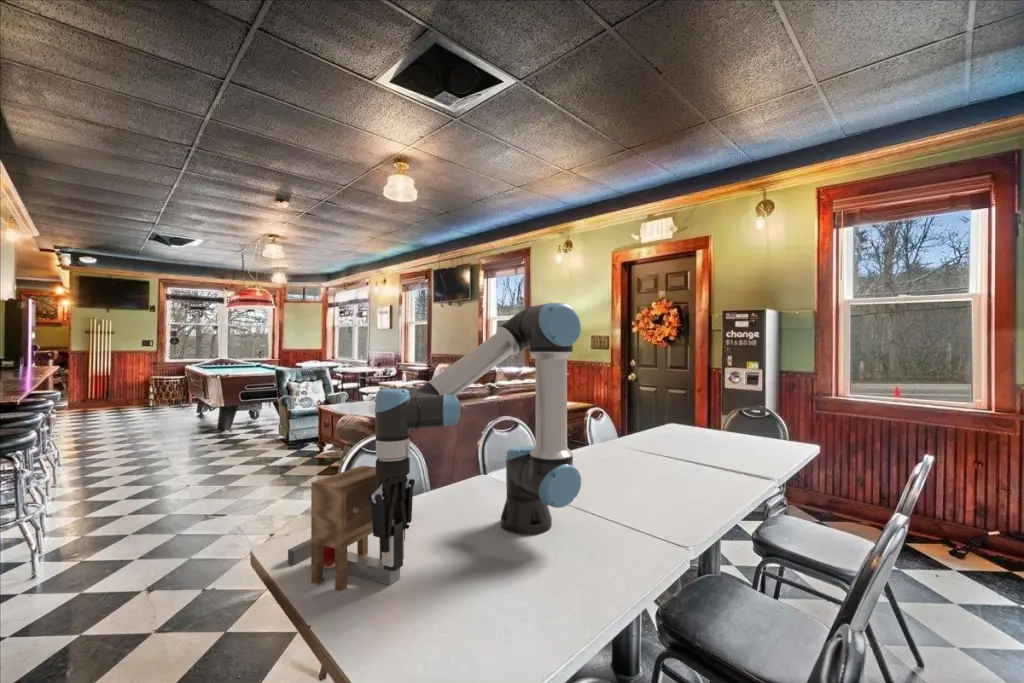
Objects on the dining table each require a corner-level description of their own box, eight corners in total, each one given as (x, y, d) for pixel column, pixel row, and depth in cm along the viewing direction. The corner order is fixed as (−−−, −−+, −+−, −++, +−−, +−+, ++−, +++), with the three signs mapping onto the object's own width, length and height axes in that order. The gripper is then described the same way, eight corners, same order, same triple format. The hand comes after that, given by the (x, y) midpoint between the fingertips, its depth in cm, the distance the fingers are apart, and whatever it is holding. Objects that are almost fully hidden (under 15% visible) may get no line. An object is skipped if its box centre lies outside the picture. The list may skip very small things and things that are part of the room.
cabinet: (394, 560, 111) (393, 469, 111) (345, 592, 96) (345, 488, 97) (362, 552, 115) (362, 465, 115) (311, 582, 101) (311, 482, 101)
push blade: (403, 578, 102) (403, 521, 102) (393, 585, 99) (393, 526, 99) (347, 563, 109) (347, 510, 109) (336, 570, 106) (336, 515, 106)
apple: (326, 576, 103) (326, 547, 104) (304, 567, 107) (304, 540, 108) (354, 561, 110) (354, 535, 111) (332, 554, 114) (332, 528, 115)
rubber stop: (320, 551, 116) (320, 538, 116) (293, 565, 109) (293, 551, 109) (314, 550, 117) (314, 537, 117) (288, 563, 109) (288, 549, 109)
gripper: (402, 448, 110) (402, 544, 110) (354, 464, 96) (354, 574, 95) (427, 451, 107) (427, 549, 107) (381, 467, 92) (382, 581, 92)
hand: (393, 561), depth 101 cm, fingers closed on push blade, 3 cm apart
